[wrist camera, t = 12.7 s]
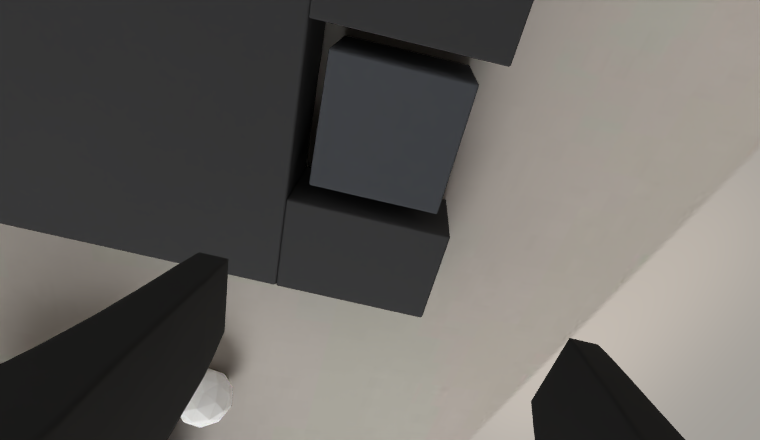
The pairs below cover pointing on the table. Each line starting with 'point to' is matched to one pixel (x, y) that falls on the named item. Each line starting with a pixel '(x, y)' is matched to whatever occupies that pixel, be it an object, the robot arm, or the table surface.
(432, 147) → the small block
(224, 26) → the base pad
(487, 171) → the table surface
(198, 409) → the polyhedron
